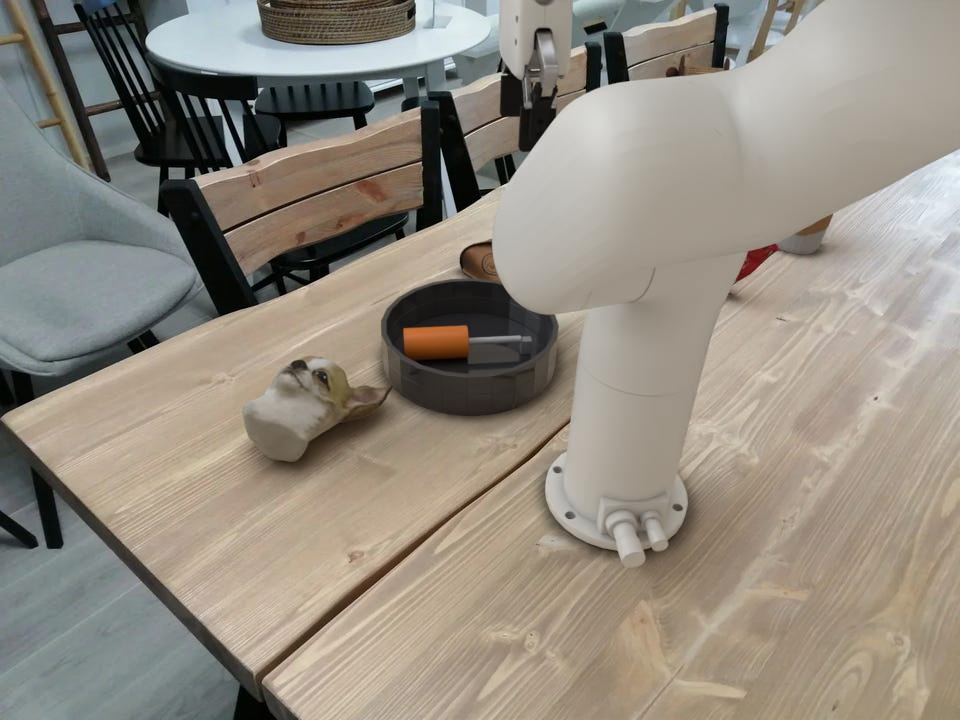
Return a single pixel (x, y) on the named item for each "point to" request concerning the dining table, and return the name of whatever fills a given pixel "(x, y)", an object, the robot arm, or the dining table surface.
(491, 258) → the sunglasses case
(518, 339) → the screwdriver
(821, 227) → the coffee cup
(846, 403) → the dining table surface
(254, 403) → the ceramic sculpture
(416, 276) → the dining table surface
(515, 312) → the bowl
